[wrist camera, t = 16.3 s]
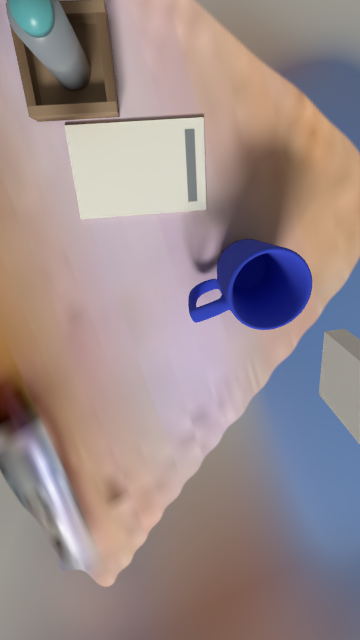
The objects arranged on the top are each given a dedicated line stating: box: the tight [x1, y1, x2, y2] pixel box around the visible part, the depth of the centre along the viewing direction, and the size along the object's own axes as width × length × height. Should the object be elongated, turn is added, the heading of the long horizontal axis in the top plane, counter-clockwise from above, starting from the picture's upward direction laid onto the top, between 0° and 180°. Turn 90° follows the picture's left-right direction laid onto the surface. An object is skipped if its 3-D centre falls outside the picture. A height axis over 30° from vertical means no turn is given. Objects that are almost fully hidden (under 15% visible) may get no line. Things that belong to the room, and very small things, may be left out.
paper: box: [64, 117, 206, 219], centre depth 35 cm, size 14×9×1 cm, turn 94°
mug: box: [189, 239, 312, 330], centre depth 36 cm, size 8×12×10 cm
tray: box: [6, 0, 119, 122], centre depth 30 cm, size 8×8×3 cm
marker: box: [7, 0, 91, 91], centre depth 25 cm, size 3×3×12 cm
